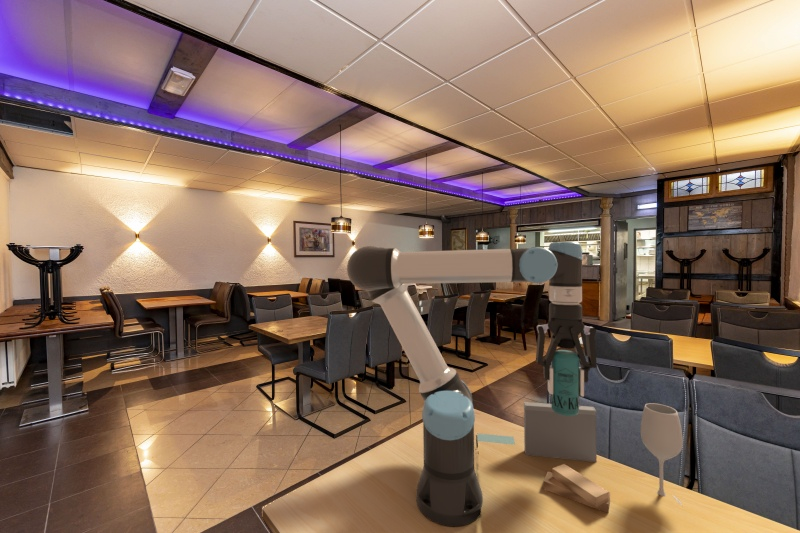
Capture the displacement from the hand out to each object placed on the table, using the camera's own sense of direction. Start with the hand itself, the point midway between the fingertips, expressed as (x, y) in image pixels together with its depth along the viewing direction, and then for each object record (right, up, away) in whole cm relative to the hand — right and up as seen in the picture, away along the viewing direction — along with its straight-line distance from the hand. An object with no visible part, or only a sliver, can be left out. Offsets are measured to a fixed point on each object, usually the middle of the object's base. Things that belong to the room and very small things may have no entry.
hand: (565, 393), depth 84 cm
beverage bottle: (0, -6, 0) cm, 6 cm away
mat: (-13, -22, +15) cm, 30 cm away
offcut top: (-1, -18, -9) cm, 20 cm away
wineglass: (+18, -22, -8) cm, 29 cm away
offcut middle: (-2, -20, -8) cm, 22 cm away
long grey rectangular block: (+2, -22, +7) cm, 23 cm away
